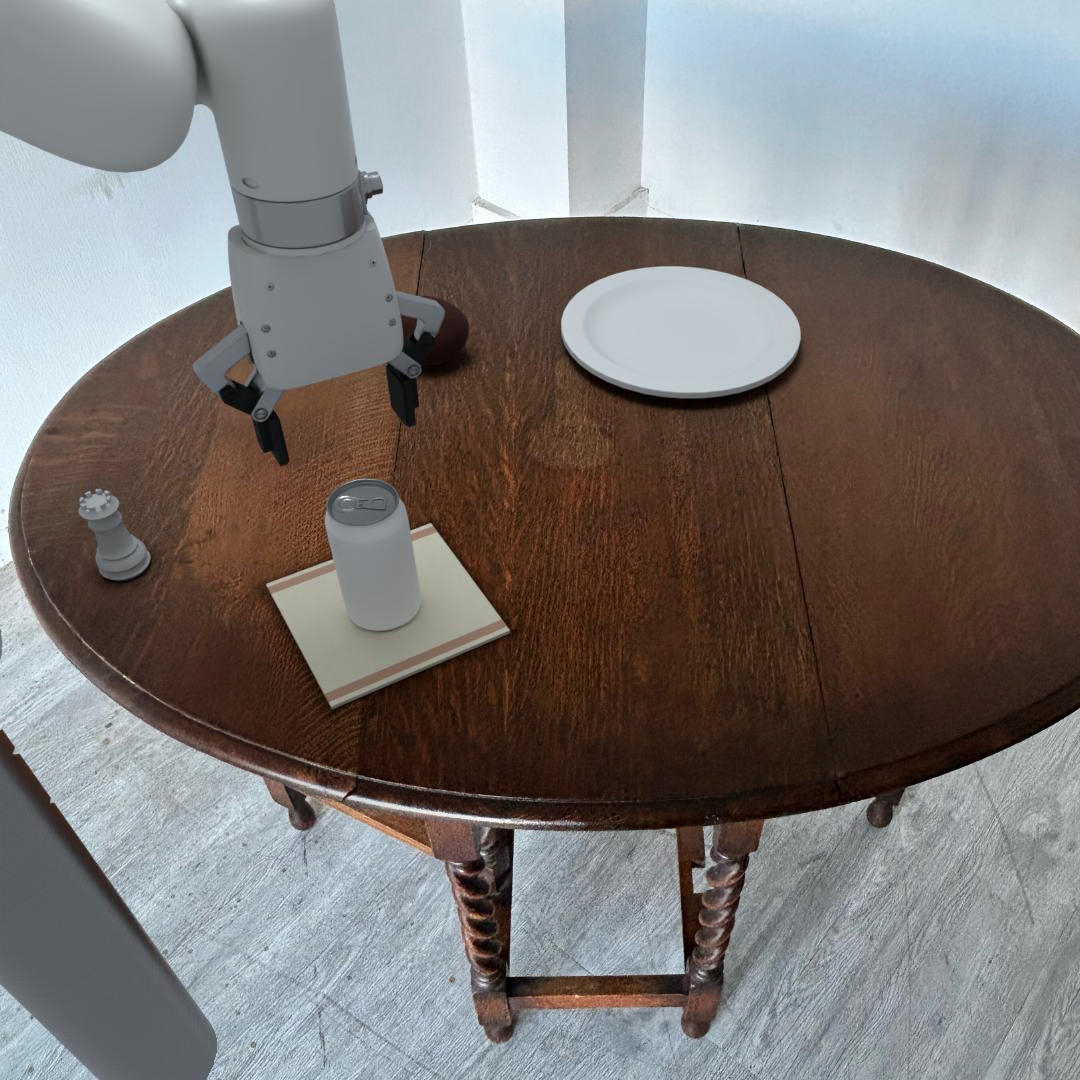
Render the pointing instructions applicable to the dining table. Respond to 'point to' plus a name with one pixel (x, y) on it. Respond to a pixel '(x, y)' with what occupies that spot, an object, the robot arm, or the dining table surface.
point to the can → (373, 554)
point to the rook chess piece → (113, 538)
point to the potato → (443, 333)
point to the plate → (680, 332)
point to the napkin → (389, 656)
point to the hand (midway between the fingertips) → (342, 435)
